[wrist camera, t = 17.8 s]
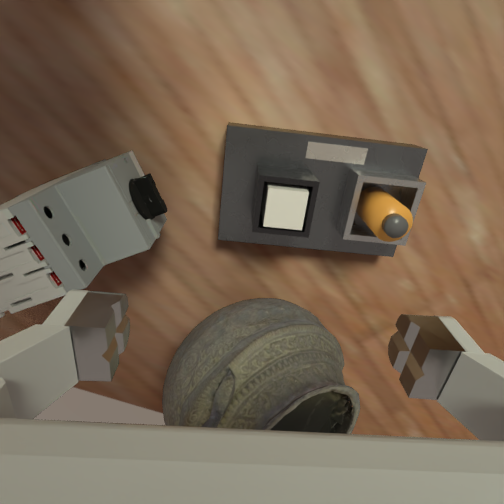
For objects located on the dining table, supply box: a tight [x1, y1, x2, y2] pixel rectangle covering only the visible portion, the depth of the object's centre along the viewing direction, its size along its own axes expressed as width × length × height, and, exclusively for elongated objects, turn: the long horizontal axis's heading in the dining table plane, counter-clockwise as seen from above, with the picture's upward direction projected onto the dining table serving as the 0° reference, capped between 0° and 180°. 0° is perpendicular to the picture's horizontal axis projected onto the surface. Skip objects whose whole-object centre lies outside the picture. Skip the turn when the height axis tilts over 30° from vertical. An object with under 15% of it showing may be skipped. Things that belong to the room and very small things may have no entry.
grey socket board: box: [218, 122, 428, 257], centre depth 36 cm, size 12×20×8 cm, turn 83°
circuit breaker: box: [0, 150, 167, 318], centre depth 32 cm, size 8×14×15 cm, turn 110°
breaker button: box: [261, 182, 309, 230], centre depth 34 cm, size 4×4×5 cm
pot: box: [162, 298, 360, 434], centre depth 37 cm, size 21×21×25 cm
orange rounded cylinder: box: [356, 187, 413, 242], centre depth 34 cm, size 4×4×7 cm
